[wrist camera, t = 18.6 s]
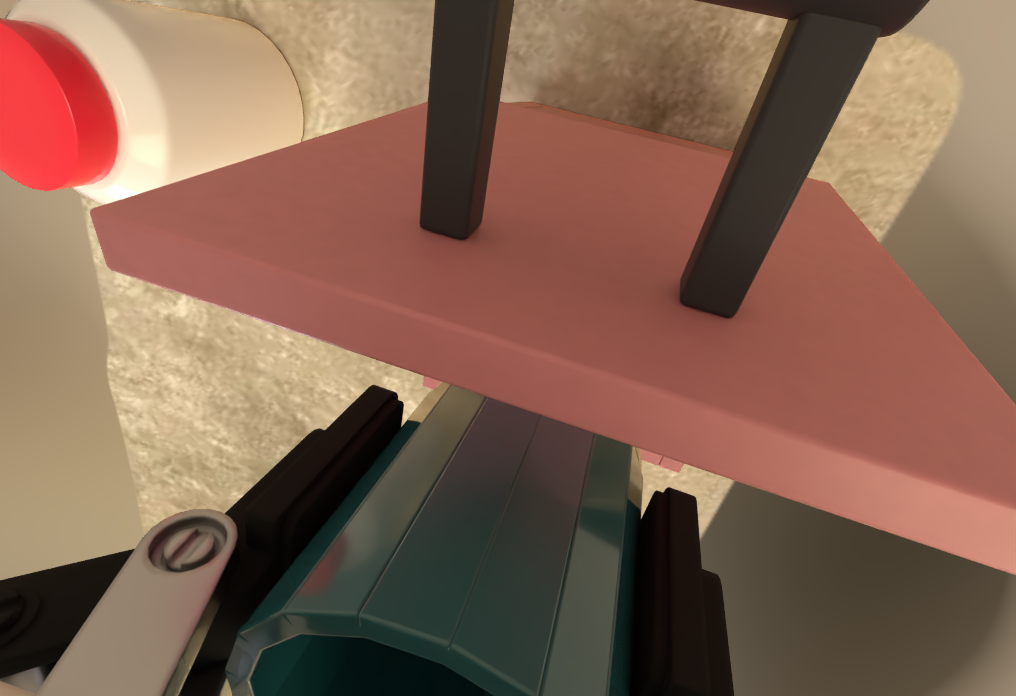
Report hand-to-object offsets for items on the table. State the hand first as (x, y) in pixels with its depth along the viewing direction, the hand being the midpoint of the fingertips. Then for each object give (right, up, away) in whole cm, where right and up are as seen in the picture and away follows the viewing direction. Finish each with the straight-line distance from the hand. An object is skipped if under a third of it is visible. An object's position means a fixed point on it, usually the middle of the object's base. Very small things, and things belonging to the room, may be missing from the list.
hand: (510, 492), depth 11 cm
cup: (0, +1, +1) cm, 1 cm away
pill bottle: (-14, +16, +16) cm, 27 cm away
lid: (+2, +5, -1) cm, 6 cm away
